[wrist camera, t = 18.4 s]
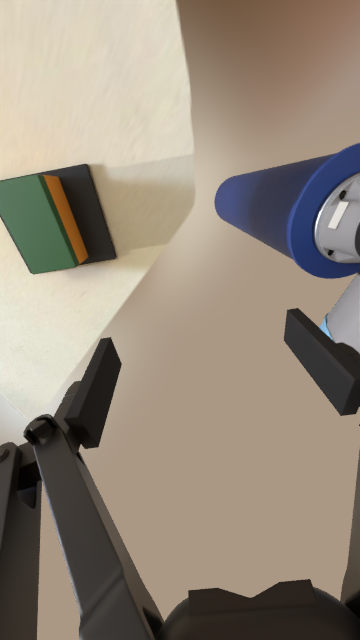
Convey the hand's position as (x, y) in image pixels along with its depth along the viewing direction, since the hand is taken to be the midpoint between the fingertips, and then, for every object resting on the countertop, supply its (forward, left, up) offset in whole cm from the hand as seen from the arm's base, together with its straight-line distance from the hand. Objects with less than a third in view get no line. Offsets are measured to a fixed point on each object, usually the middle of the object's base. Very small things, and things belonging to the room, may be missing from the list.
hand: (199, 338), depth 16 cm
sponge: (+20, -8, -26) cm, 34 cm away
